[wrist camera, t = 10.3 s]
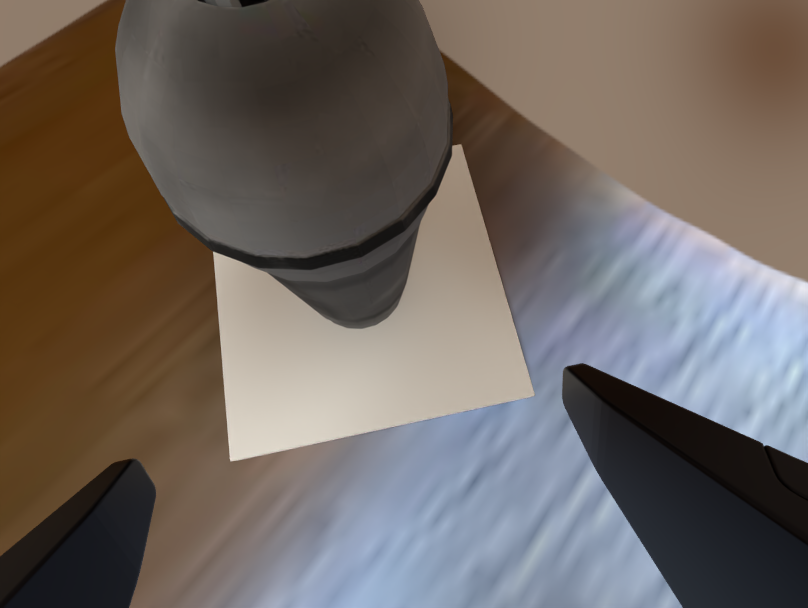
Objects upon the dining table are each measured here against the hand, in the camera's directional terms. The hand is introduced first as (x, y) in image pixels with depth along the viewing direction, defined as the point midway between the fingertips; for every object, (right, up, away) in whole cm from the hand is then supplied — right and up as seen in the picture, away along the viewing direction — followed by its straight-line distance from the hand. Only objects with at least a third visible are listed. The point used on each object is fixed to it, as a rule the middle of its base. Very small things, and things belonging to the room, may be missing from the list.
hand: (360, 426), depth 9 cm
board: (-1, +3, +14) cm, 14 cm away
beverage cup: (-1, +3, +13) cm, 13 cm away
